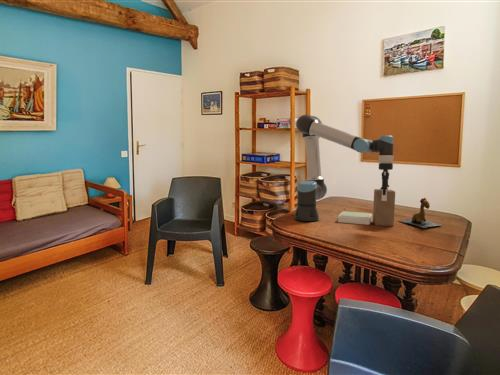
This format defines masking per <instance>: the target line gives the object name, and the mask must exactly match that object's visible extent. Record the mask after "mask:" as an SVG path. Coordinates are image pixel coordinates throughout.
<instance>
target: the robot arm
mask: <svg viewBox="0 0 500 375" xmlns="http://www.w3.org/2000/svg"><path fill="white" fill-rule="evenodd" d="M295 126H296V129H297V131H298V132H299V133H301V135H302V139H303V140H305V143H304V144H305V155H306V157H305V158H306V170H307V178H306V179H305V180H303V181H300V182H298V183H297V201H296V202H297V203H296V204H297V206H296V209H295V212H294V215H293V217H294V220H295V221H300V222H316V221H317V222H318V221H319V220H320V215H319V212H318V208H317V200H318V201H319V200H321V199H323V198H324V197H325V196H326V195H327V192H328V188H327V185H326V183H325V178H324V177H322V169H321V156H320V155H321V152H320V151H321V150H320V138H322V139H324V140H327V141H329V142H332V143H334V144H338V145H341V146H343V147H346V148H348V149H351V150H353V151H355V152H357V153H360V154H366V153H367V154H368V153H369V154H370V153H372V154H373V153H376V154H378V170H381V171H382V172H381V187H380V189H382V199H381V201H387V190H389V187H390V185H389V178H390V172H389V171H390V170H393V166H394V164H393V162H394V159H395V156H394V145H395V144H394V136H393V135H380V136H379V139H366V138H362V137H360V136H357V135H355V134H351V133H348V132H346V131H344V130H340V129H337V128H335V127H331V126H329V125H326V124H324V123H323V122H322V121H321V119H320V118H318V116H315V115H309V114H303V115H300V116H299V117H298V118H297V120H296V122H295Z"/></svg>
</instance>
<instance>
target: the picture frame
mask: <svg viewBox="0 0 500 375" xmlns="http://www.w3.org/2000/svg"><path fill="white" fill-rule="evenodd" d="M372 221H373V213H370V212H361V211H360V212H359V211H357V212H356V211H345V210H344V211H342V212H340V213H339V215H338V216H337V223H343V224H355V225H365V226H366V225H367V226H370V225H371V222H372Z"/></svg>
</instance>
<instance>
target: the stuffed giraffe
mask: <svg viewBox="0 0 500 375" xmlns="http://www.w3.org/2000/svg"><path fill="white" fill-rule="evenodd" d="M419 202H420V206H419V207H420V208H419V210H420V211H418V212H415V213H414V214H413V215H412V217H411V218H407V219H402V220H398V222H401V223H405V224H410V225H414V226H416V227H419V228H422V229H426V228H429V227H430V228H431V227H437V226H438V227H439V226H443V223H437V222H434V221H430V220H427V218H426V211H425V209H427V210H429V209H430V204H431V203H430V202H429V200H428V199H427V198H426V197H423V198H421V199H420V200H419Z"/></svg>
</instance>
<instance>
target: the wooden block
mask: <svg viewBox="0 0 500 375" xmlns="http://www.w3.org/2000/svg"><path fill="white" fill-rule="evenodd" d="M381 199H382V189H381V188H378V189H377V188H375V189H374V190H373V208H372V209H373V210H372V223H373V224H374V225H375V226H381V227H382V226H384V227H385V226H386V227H393V226H394V225H395V209H396V208H395V206H396V205H395V204H396V191H395V190H393V189H388V190H387V201H381Z"/></svg>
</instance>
